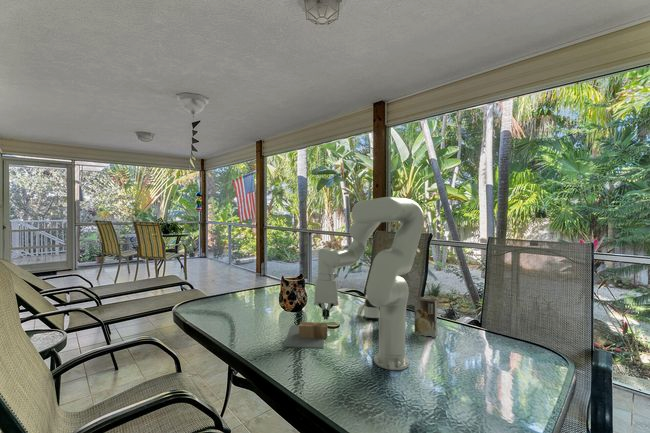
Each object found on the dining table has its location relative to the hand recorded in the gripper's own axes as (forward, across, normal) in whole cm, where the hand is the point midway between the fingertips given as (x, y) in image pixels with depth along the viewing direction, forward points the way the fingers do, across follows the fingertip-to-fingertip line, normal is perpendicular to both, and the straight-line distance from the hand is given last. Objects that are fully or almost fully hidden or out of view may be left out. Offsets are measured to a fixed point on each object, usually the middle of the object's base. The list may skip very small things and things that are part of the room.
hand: (325, 318), depth 139 cm
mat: (+8, +8, 0) cm, 12 cm away
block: (+5, -1, 0) cm, 5 cm away
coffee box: (+8, -45, -7) cm, 46 cm away
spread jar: (+8, -21, -28) cm, 36 cm away
